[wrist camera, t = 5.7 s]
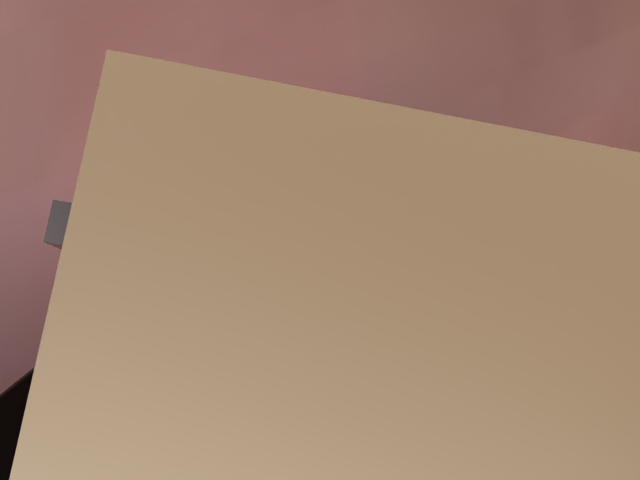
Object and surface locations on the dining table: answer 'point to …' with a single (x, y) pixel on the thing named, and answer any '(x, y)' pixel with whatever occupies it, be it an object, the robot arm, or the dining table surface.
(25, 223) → the dining table surface
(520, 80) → the dining table surface
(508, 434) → the birch board
